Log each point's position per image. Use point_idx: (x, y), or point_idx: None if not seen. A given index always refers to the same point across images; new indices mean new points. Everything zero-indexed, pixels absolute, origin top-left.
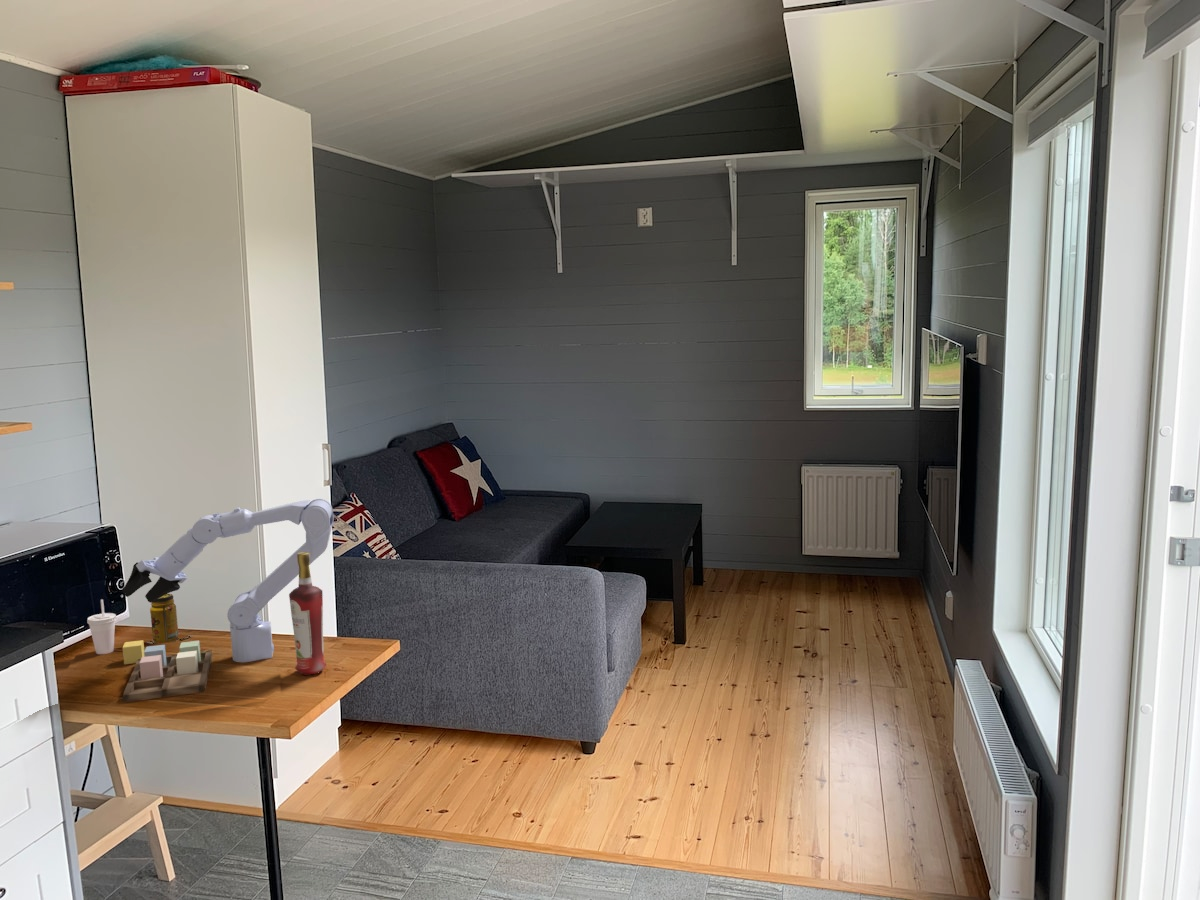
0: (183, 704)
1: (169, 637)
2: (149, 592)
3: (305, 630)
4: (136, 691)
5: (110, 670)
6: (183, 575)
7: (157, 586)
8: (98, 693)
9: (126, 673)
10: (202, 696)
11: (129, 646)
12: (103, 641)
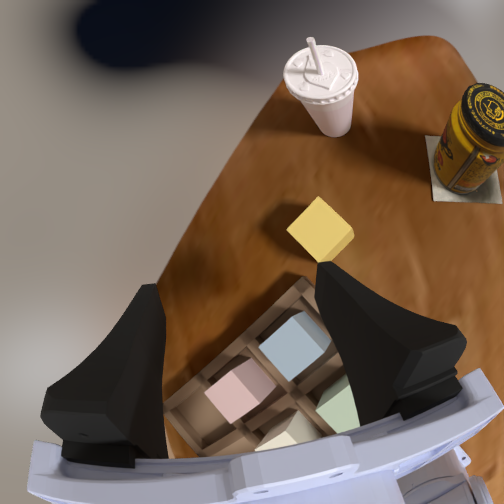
0: None
1: (456, 188)
2: (329, 282)
3: None
4: (200, 394)
5: (274, 224)
6: (472, 430)
7: (354, 326)
8: (184, 317)
9: (274, 276)
10: None
11: (299, 239)
12: (316, 120)
